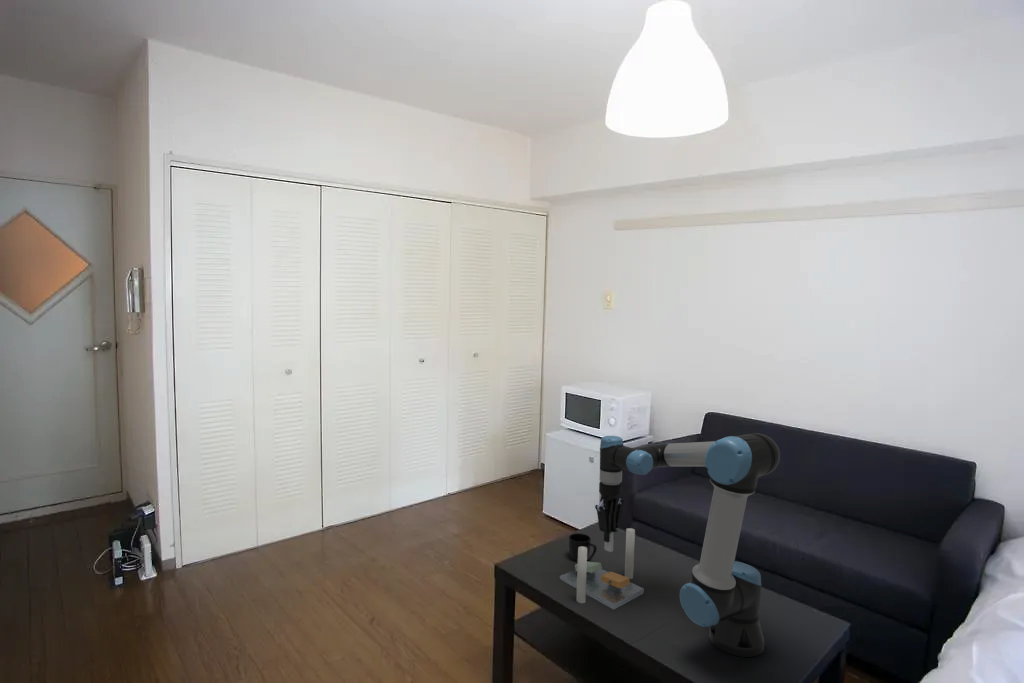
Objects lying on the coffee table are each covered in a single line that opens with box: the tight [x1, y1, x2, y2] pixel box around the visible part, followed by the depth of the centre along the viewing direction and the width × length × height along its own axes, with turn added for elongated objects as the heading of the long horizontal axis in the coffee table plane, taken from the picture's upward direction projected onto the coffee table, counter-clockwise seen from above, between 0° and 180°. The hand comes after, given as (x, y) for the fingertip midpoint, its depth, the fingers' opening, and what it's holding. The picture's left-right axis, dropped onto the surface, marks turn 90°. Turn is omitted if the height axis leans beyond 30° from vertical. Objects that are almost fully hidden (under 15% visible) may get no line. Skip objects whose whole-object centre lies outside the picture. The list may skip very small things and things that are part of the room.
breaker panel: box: [559, 568, 645, 610], centre depth 195 cm, size 24×16×4 cm, turn 41°
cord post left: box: [575, 546, 588, 604], centre depth 185 cm, size 3×3×18 cm
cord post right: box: [624, 527, 636, 580], centre depth 202 cm, size 3×3×18 cm
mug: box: [568, 533, 598, 563], centre depth 214 cm, size 8×12×10 cm
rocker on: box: [574, 561, 603, 573], centre depth 200 cm, size 8×6×2 cm
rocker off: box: [601, 571, 630, 588], centre depth 191 cm, size 8×6×2 cm
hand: (608, 550), depth 193 cm, fingers closed
